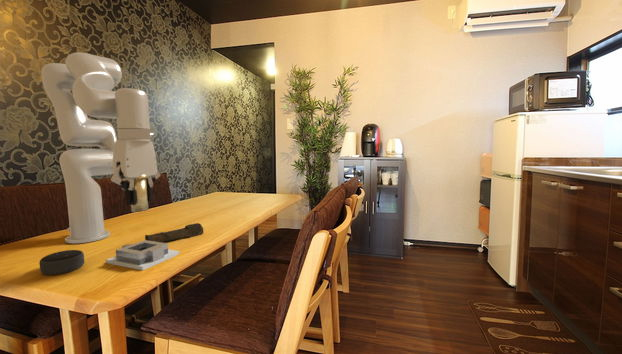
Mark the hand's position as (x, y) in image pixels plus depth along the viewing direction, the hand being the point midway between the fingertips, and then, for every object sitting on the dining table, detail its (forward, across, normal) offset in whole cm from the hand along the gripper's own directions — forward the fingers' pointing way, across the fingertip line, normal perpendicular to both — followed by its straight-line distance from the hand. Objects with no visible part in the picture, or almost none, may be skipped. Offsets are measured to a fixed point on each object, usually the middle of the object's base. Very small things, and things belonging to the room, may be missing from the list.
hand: (139, 202), depth 80 cm
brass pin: (+2, 0, 0) cm, 2 cm away
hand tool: (+17, -18, -7) cm, 26 cm away
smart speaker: (+17, +11, -15) cm, 26 cm away
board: (+17, -1, -1) cm, 17 cm away
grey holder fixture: (+16, 0, -1) cm, 16 cm away
